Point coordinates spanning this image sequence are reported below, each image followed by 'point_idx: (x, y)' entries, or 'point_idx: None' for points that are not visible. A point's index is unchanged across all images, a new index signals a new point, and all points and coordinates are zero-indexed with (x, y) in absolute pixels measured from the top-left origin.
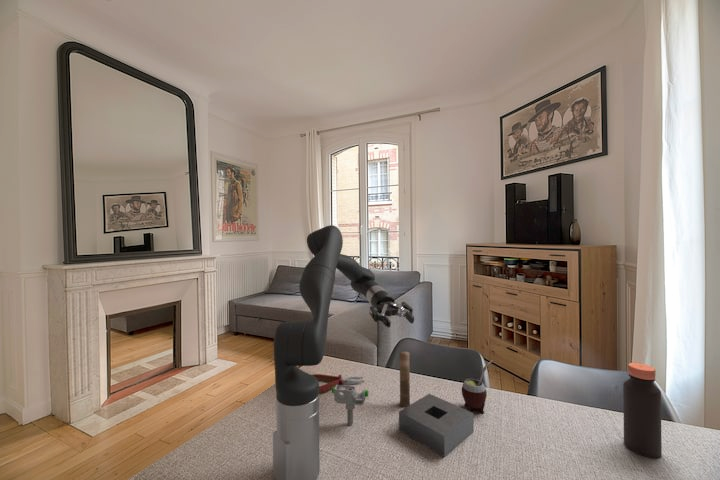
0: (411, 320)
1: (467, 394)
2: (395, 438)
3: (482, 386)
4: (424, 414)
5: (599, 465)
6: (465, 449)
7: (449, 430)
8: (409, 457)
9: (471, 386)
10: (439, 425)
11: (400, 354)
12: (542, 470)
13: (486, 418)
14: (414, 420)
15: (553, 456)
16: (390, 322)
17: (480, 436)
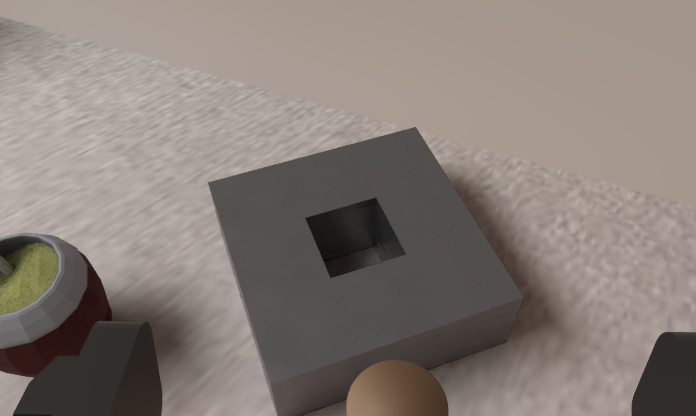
0: (153, 367)
1: (97, 284)
2: (540, 302)
3: (9, 236)
4: (414, 239)
5: (49, 49)
6: None
7: (379, 140)
8: (523, 211)
9: (63, 251)
10: (397, 169)
11: (447, 405)
12: (193, 76)
13: None
14: (477, 225)
15: (111, 93)
16: (666, 334)
17: None
